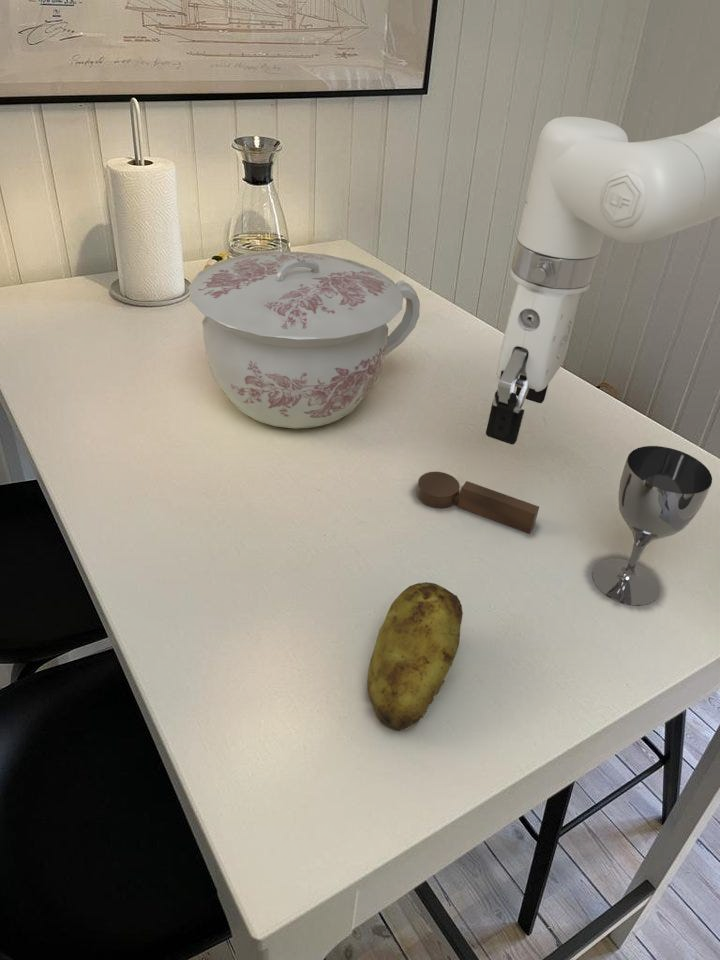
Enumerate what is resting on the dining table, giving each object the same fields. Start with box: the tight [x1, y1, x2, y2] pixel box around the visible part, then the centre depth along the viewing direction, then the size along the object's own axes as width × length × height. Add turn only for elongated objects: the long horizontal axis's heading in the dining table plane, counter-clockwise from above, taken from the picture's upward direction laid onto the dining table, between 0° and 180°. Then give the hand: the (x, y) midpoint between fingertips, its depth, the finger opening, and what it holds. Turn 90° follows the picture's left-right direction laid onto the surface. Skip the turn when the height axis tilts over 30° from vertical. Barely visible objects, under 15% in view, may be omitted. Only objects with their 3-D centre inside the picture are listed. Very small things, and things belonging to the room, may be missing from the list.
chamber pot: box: [188, 251, 421, 429], centre depth 100 cm, size 28×28×21 cm
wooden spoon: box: [416, 471, 540, 535], centre depth 89 cm, size 14×5×3 cm, turn 62°
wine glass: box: [591, 445, 713, 606], centre depth 77 cm, size 8×8×15 cm
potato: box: [366, 581, 464, 732], centre depth 66 cm, size 8×13×8 cm, turn 142°
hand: (515, 418), depth 81 cm, fingers open, 9 cm apart
